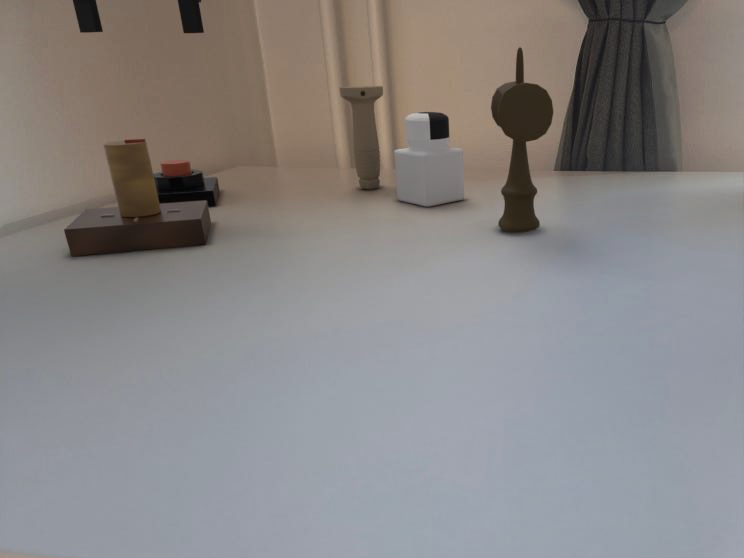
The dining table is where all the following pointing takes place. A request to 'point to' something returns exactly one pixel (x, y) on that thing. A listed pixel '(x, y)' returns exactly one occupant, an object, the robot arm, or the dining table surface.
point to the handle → (365, 133)
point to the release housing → (187, 188)
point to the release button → (176, 167)
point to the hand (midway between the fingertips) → (146, 33)
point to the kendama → (520, 144)
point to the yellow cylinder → (132, 177)
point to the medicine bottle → (429, 162)
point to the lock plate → (138, 229)
